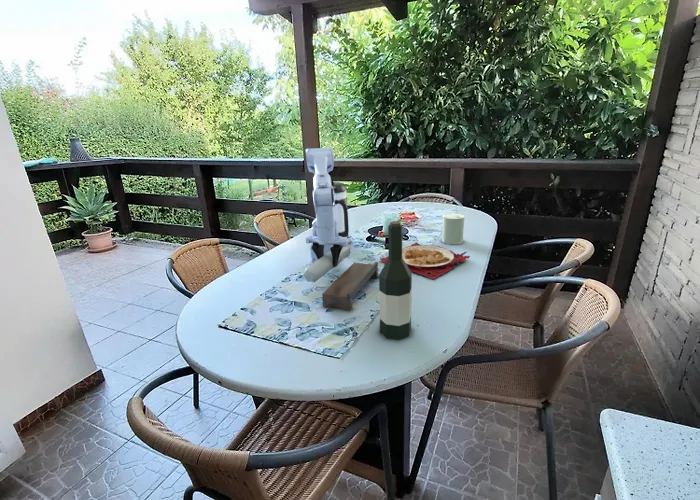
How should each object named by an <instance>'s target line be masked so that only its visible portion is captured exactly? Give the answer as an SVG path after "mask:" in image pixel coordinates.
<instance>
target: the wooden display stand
mask: <svg viewBox="0 0 700 500" xmlns="http://www.w3.org/2000/svg"><path fill="white" fill-rule="evenodd" d="M378 263H379V262H378V261H374V263H373V264H371V263H363V262H352V264H351V265H350V266H349V267H348V268H347V269H346V270H345V271H344V272H343V273H342V274H341V275H339V277H338V278H336V280H334V282H332V283H331V284H330V285H329V286H328V287H327V288H326V289H325V290H324V291H323V292H322V293H321V294H322V295H321V296H322V307H323V308H329V309H335V310H340V311H346V312H351V311H352V310H353V298H354V297H355V296H356V295H357V294H358V293H359V291H360V290H361V289H362V288H363V286H365V284H366V283H367V282H368V280H369V279H370V278H371V279H378V278H379V264H378Z"/></svg>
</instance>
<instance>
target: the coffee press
mask: <svg viewBox="0 0 700 500" xmlns="http://www.w3.org/2000/svg"><path fill="white" fill-rule="evenodd" d="M330 177H331V185H332V187H333V190H334V197H335V204H333V203H332V205H333V206H334V219H335V220H336V221H337V225H338V238H341V239H346V240H348V242H349V244H351V243H352V239H351V238H350V235H349V232H350V230H349V212H348V195H347V191H348V188H347V187H346V184H344V183H343V182H339V181H335V177H334V176H330Z"/></svg>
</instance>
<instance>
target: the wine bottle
mask: <svg viewBox="0 0 700 500" xmlns="http://www.w3.org/2000/svg"><path fill="white" fill-rule="evenodd" d="M401 223H402V222H401V221H399V220H393V221H392V220H391V221H390V222H389V225H388V227H387V229H388V231H387V235H388V236H387V237H388V244H387V245H388V247H387V248H388V256H389V259H388V261H387V262H386V263H384V265H383V267H382V269H381V270H380V272H379V273H378V290H379V291H378V294H379V295H378V296H379V297H378V301H379V302H378V303H379V304H378V305H379V333H380V334H381V335H382V336H383V337H384V338H386V340H387V339H389V340H395V341H400V340H403V339H406V338H409V337H410V334H411V331H412V290H413V289H412V286H413V285H412V284H413V283H412V282H413V272H411V271H410V269H409V268H408V266H407V264H406V263H405V261H404V260H403V258H402V249H403V224H401Z"/></svg>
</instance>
